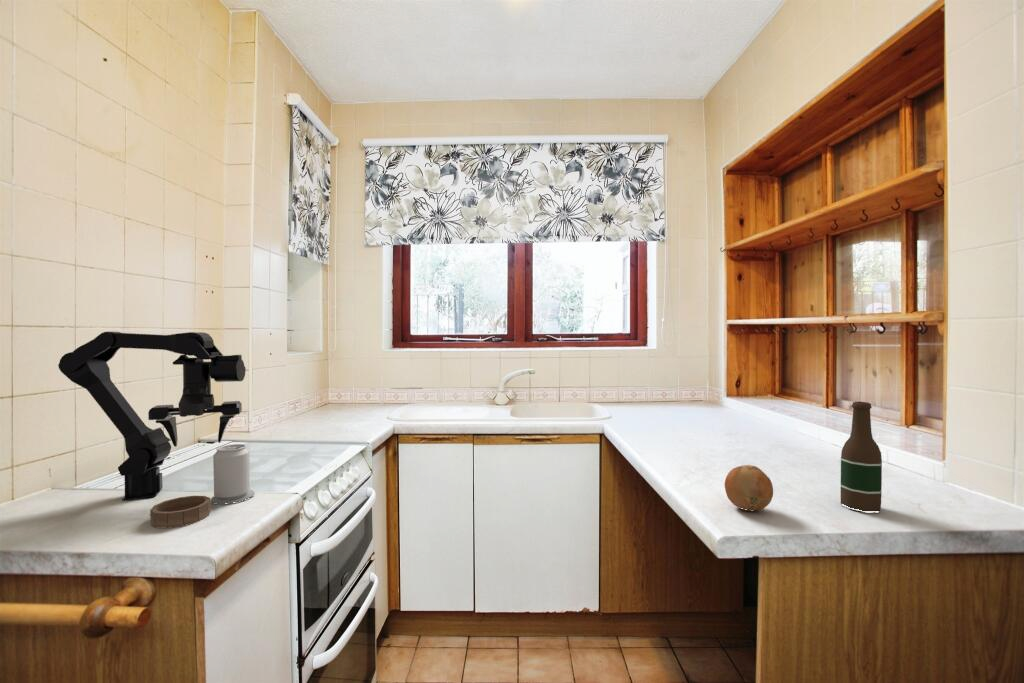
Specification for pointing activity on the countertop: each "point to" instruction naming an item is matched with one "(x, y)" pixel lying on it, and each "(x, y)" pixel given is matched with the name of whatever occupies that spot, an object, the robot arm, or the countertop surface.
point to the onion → (748, 487)
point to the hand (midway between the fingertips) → (197, 444)
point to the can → (231, 471)
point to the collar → (180, 511)
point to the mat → (218, 501)
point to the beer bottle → (861, 464)
